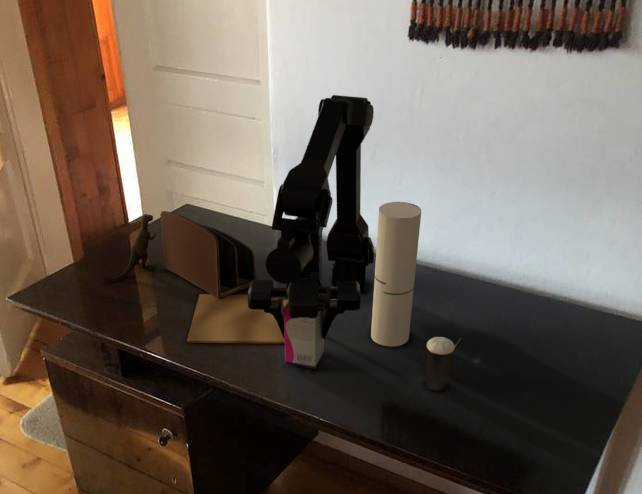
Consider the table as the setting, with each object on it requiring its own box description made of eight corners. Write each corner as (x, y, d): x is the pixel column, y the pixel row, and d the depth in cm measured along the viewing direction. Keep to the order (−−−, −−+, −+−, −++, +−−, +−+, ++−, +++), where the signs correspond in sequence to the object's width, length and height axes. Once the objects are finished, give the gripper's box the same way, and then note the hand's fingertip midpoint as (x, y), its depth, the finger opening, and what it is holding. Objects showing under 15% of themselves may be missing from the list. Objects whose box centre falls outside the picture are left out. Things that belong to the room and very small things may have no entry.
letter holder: (219, 300, 149) (214, 234, 141) (164, 269, 161) (156, 206, 152) (257, 285, 154) (254, 220, 146) (201, 256, 166) (195, 195, 158)
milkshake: (453, 395, 124) (460, 345, 118) (421, 391, 124) (426, 341, 118) (454, 380, 127) (461, 330, 121) (423, 376, 128) (428, 327, 122)
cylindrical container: (387, 322, 143) (397, 198, 128) (416, 336, 139) (430, 209, 124) (363, 336, 139) (370, 209, 124) (392, 350, 135) (403, 221, 120)
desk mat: (316, 297, 151) (316, 295, 151) (315, 344, 136) (315, 341, 136) (199, 296, 151) (199, 294, 151) (187, 342, 137) (186, 340, 136)
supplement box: (324, 351, 133) (325, 296, 126) (315, 369, 129) (315, 313, 121) (294, 346, 134) (293, 291, 127) (284, 364, 130) (282, 308, 123)
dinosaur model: (155, 212, 156) (99, 239, 147) (166, 262, 163) (112, 290, 154) (143, 208, 158) (87, 234, 149) (154, 258, 165) (101, 285, 156)
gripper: (242, 278, 113) (247, 362, 122) (364, 279, 113) (359, 364, 122) (248, 247, 122) (252, 328, 131) (360, 248, 122) (356, 329, 131)
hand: (304, 337), depth 129 cm, fingers closed on supplement box, 6 cm apart
